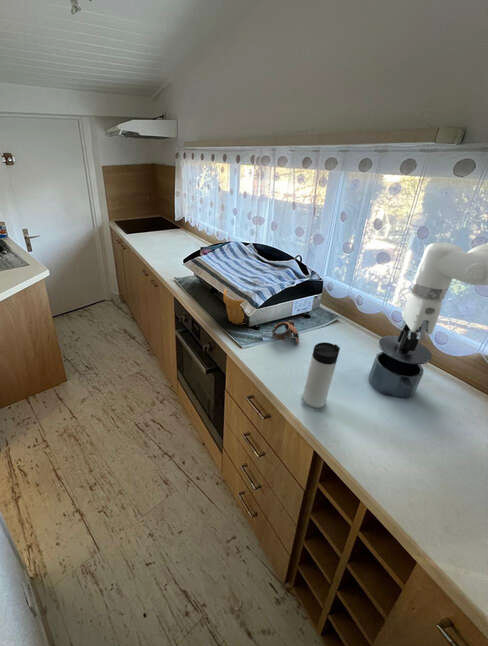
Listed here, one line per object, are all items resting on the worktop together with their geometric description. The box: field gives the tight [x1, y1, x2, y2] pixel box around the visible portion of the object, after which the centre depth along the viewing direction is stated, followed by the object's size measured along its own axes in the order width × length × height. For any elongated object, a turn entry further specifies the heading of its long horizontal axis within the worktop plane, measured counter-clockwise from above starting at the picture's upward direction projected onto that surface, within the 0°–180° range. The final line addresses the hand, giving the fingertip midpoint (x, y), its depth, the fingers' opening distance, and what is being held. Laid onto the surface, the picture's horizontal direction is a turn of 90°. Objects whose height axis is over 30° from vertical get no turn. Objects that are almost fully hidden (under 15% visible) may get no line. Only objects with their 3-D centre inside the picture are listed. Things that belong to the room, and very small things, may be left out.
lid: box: [377, 330, 433, 365], centre depth 89 cm, size 13×13×7 cm
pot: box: [368, 351, 424, 400], centre depth 95 cm, size 12×18×8 cm
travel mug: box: [302, 342, 341, 410], centre depth 87 cm, size 6×7×20 cm
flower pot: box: [223, 288, 246, 325], centre depth 131 cm, size 14×14×13 cm
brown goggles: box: [271, 319, 300, 345], centre depth 119 cm, size 12×10×8 cm
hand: (405, 345), depth 90 cm, fingers closed on lid, 3 cm apart
